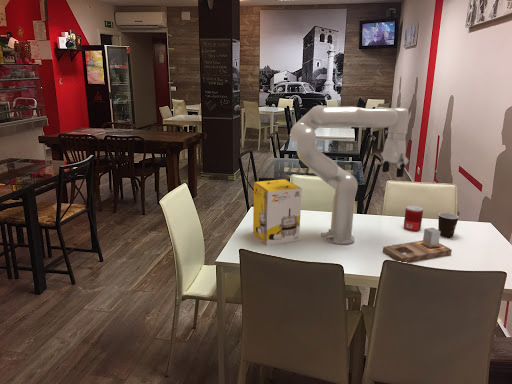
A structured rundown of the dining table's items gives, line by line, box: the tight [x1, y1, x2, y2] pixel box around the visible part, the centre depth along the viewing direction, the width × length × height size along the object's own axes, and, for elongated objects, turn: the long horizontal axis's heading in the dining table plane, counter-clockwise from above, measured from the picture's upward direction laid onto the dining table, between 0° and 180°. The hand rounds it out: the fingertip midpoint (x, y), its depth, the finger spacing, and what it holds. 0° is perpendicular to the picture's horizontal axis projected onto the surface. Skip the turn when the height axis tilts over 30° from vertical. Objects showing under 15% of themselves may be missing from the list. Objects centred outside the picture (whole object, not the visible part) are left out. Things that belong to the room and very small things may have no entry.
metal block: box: [422, 227, 441, 249], centre depth 180 cm, size 4×4×10 cm
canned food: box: [403, 205, 424, 232], centre depth 205 cm, size 8×8×11 cm
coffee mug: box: [437, 212, 459, 239], centre depth 198 cm, size 12×9×10 cm
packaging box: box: [252, 178, 303, 246], centre depth 191 cm, size 16×16×25 cm
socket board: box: [382, 239, 453, 264], centre depth 178 cm, size 26×12×3 cm, turn 111°
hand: (392, 174), depth 187 cm, fingers open, 9 cm apart
